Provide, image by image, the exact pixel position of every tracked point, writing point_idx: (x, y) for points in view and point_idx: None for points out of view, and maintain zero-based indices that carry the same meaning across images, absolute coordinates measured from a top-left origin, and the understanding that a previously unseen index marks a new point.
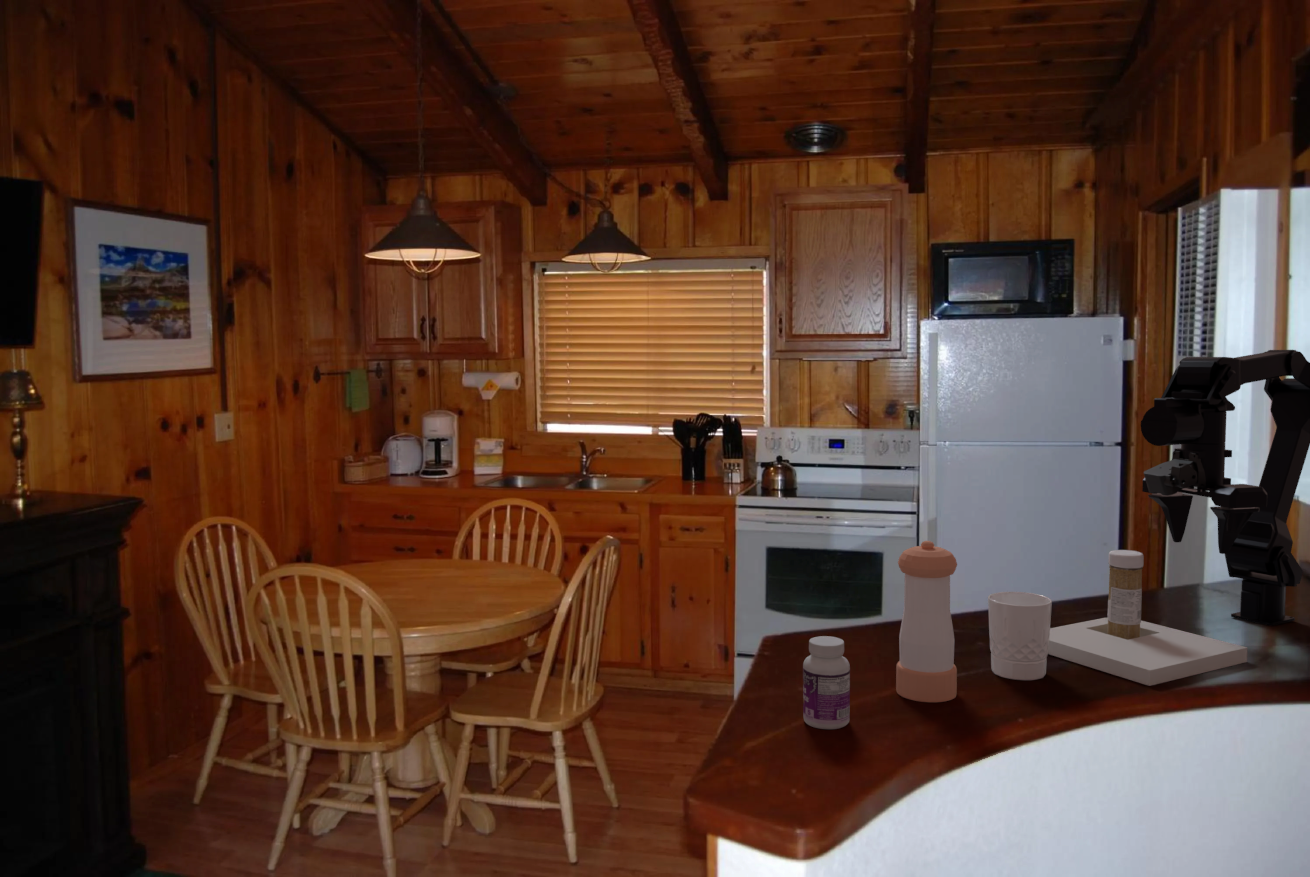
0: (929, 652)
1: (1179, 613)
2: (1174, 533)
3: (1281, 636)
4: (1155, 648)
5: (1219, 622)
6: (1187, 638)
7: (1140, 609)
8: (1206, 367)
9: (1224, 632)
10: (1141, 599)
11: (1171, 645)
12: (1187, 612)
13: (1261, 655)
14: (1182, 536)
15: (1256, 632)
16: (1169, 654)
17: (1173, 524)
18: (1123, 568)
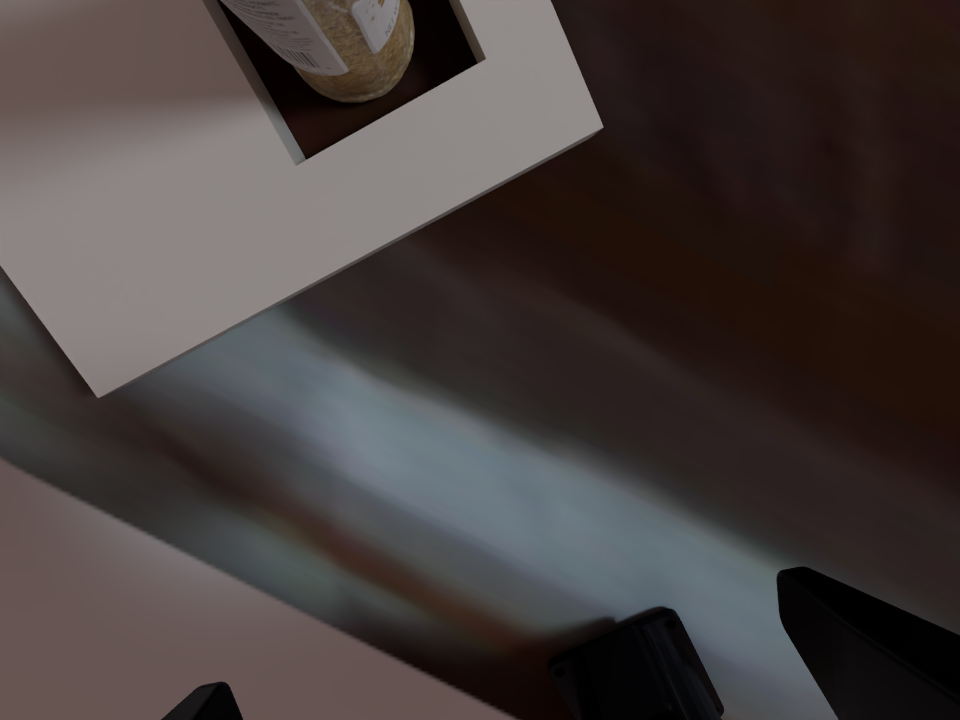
0: None
1: (757, 475)
2: (834, 621)
3: (439, 634)
4: (32, 8)
5: (621, 544)
6: (209, 236)
7: (247, 25)
8: None
9: (496, 496)
10: (242, 17)
11: (92, 110)
12: (764, 508)
13: (219, 468)
14: (815, 677)
15: (489, 590)
16: None
17: (949, 712)
18: None
